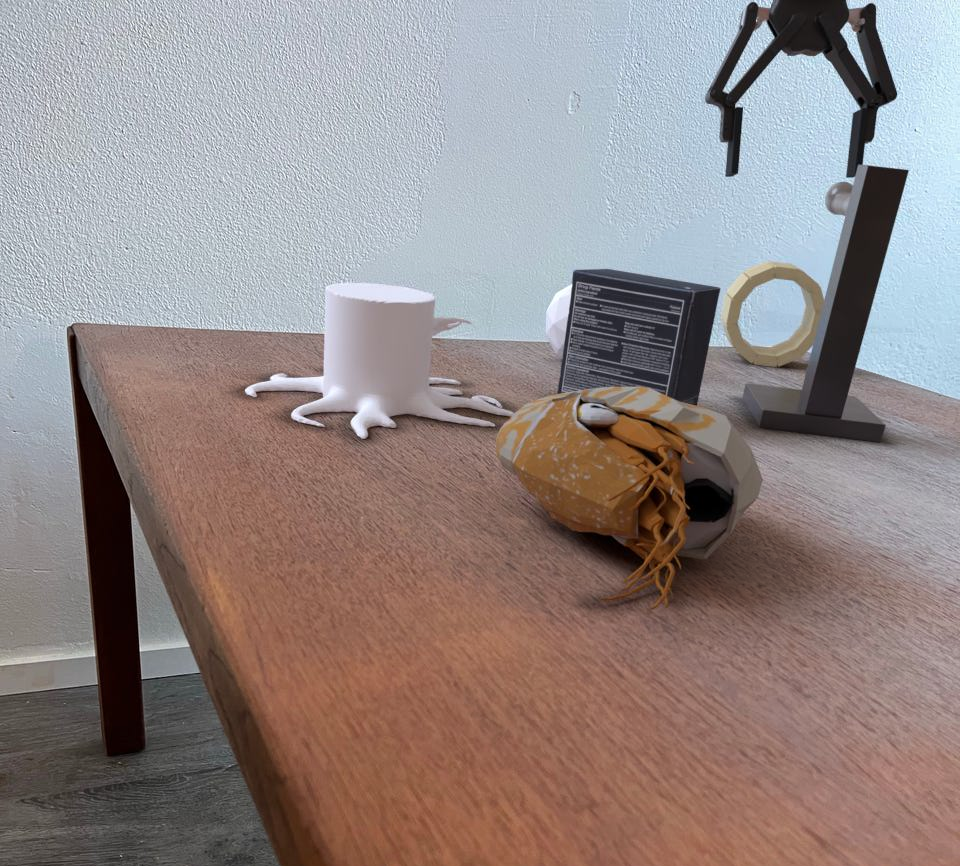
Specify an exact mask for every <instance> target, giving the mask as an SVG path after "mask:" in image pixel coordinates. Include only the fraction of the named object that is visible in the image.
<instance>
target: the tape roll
mask: <svg viewBox="0 0 960 866" xmlns="http://www.w3.org/2000/svg"><path fill="white" fill-rule="evenodd" d="M775 279H776V280H782V281H790V282H791V281H792V282H793V283H795V284H796V285H797V286H799V288H800V290H801V294H802V297H803V301H804V303H805V308H804V312H803V315H802V320H801V324H800V325H799V326H798V327H797V329H796V330H795V331H794V332H793V333H792V334H791V336H790V337H789V338H788V339H786V340H784V341H781V342H780V343H777V344H774V345H772V346H762V345H752V344H751V343H750V342H748V341H747V340H746V339H745V338H744V337H743V335H742V332H741V330H740V327H739V320H740V315H741V310H742V306H743V303H744V302H745V301H746V299H748V296H749V295H751V293H752V292H753V291H754V290H755V288H757V287H759V286H762V285H763V284H765V283H767V282H768V283H769V282H771V281H773V280H775ZM824 299H825V296H824V293H823V291H822V287H821V286H820V284H819V283H818V282H817V281H816V280H815V279H814V278H812V277H811V276H810V275H809V274H807V273H806V272H805V271H804V270H803V269H801V268H799V267H798V266H797V265H794V264H793V263H789V262H780V261H772V260H768V261H764V262H761V263H759V264H757V265H754V266H752V267H750V268H748V269H745V270H743V272H741V273H740V274H739V275H738V276H737V278H736V279H735V280H734V281H733V283H732V284H730V286H729V287H728V289H727V290H726V293H724V297H723V303H722V308H721V313H720V321H721V322H720V323H721V324H722V327H723V331H724V333H725V337H726V339H727V341H728V342H729V344H730V346H731V347H732V348H733V350H734V351H735V352H736V353H738V354H739V355H740V356H741V357H742V358H744V359H745V360H746V361H747V362H749V364H753V365H755V366H763V367H772V368H777V367H778V368H779V367H781V366H782V367H783V366H784V365H787V364H789V363H792V362H795V361H797V360H800V359H801V358H802V357H804V356H805V355H806V354H807V353H808V351H810V350H811V349H812V347H813V343H814V339H815V335H816V331H817V327H818V323H819V319H820V315H821V311H822V307H823V303H824Z"/></svg>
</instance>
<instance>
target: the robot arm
mask: <svg viewBox="0 0 960 866" xmlns="http://www.w3.org/2000/svg"><path fill="white" fill-rule="evenodd" d="M764 22H766V24H767V27H768V28H769V30H770V32H771V34H772V36H773V37H774V38H773V39H772V40H771V41H770V43H768V45H767V46H766V47H765V48H764V50H763V51H762V52H761V54H760V55H759V56H758V57H757V59H755V61H754V62H753V63H752V64H751V66H750V67H749V68H748V69H747V70H746V72H745V73H744V74H743V76H741V77H740V79H739V80H738V81H737V82H736V84H735V85H734V86H733V87H732V88H731V90H730V91H729V92H726V91H724V90H725V87H726V86H727V84H728V82H729V81H730V78H731V76H732V75H733V72H734V70H735V68H736V67H737V64H738V62H739V61H740V59H741V57H742V55H743V53H744V51H745V49H746V47H747V45H748V43H749V41H750V40H751V37H752V36H753V33H754V32H757V30H759V29H760V28H761V26H762V24H763V23H764ZM847 23H848V24H849V25H850V27H851V30H852V32H854V33H856V40H857V44H858V47H859V50H860V53H861V56H862V60H863V62H864V64H865V65H864V66H865V68H866V71H867V75H868V77H869V79H868V78H867V76H866V74H865V73H864V71H863V70H862V68H861V67H860V64H859V63H858V62H857V59H856V58H855V57H854V56H853V54H852V52H851V51H850V49H849V46H848V42H847V40H846V39H845V37H844V36H843V34H842V32H841V31H842V29H844V27H845V26H846V24H847ZM781 51H782V52H783V53H784V54H786V57H795V56H799V55H803V56H805V57H806V56H807V57H816V56H817V55H820V54H822V55H823V56H824V57H825V60H827V61H828V62H830V64H831V65H832V67H833V68H834V70H835V71H836V73H837V74H838V76H839V78H840V79H841V81H842V82H843V84H844V85H845V87H846V89H847V90H848V92H849V94H850V95H851V96H852V98H853V99H854V101H855V103H856V104H857V106H858V107H859V109H858V110H856V111H854V112H853V113H852V118H851V127H850V128H851V130H850V136H849V137H850V138H849V146H848V156H847V166H846V174H845V178H846V179H847V178H848V179H853V178H855V176H856V172H857V168H858V165H859V164H860V165H864V156H865V147H866V145H867V144H869V143H871V142H873V140H874V138H875V134H876V126H877V117H878V111H879V109H880V108H881V107H884V106H887V105H888V104H890V103H892V102H893V101H895V100H897V98H898V91H897V88H896V84H895V81H894V78H893V75H892V71H891V69H890V65H889V62H888V60H887V56H886V54H885V50H884V47H883V44H882V40H881V38H880V35H879V31H878V28H877V6H876V4H875V3H873V2H869V3H867V4H866V5H864V6H863V7H855V8H849V6H848V2H847V0H772V1H771V6H770V7H765V6H759V4H758V3H757V2H756V1H751V2H749V3H748V4H747V6H745V7H744V9H743V10H742V12H741V14H740V19H739V25H738V31H737V33H736V35H735V37H734V39H733V40H732V43H731V45H730V47H729V49H728V51H727V52H726V55H725V57H724V59H723V60H722V63H721V65H720V66H719V69H718V70H717V72H716V73H715V74H716V75H715V76H714V77H713V80H712V82H711V84H710V86H709V88H708V90H707V92H706V94H705V95H704V101H705V103H706V104H707V105H712V106H714V107H717V108H718V109H719V112H720V120H719V121H720V122H719V135H718V137H719V142H720V143H727V148H726V160H725V161H726V163H725V178H733V177H735V176H736V175H738V174H739V169H740V153H741V144H742V143H741V142H742V129H743V117H744V115H743V114H744V107H743V106H736V105H737V104H738V102H739V101H740V100H741V99H742V97H743V96H744V95H745V94H746V92H747V91H748V90H749V89H750V88H751V87H752V85H754V83H755V82H756V80H757V79H758V78H759V77H760V76H761V74H762V73H763V72H764V71H765V70H766V69H767V67H768V66H769V65H770V64H771V63H772V61H773V60H774V59H775V58H776V57H777V56H778V55H779V53H780V52H781Z"/></svg>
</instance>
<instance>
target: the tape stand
mask: <svg viewBox="0 0 960 866" xmlns="http://www.w3.org/2000/svg"><path fill="white" fill-rule="evenodd" d="M909 172H910V169H904V168H896V167H886V166H878V165H870V164H863V165H860V164H859V165H858V168H857V172H856V176H855V177H854V180H853V184H852V183H850V182H848V181H839V182H836V183H834V184H832V185H831V186H830V187H829V189H828V190H827V191H826V193H825V196H824V204H825V208H826V209H827V211H829V213H831V214H832V215H835V216H843V217H844V219H843V222H842V223H843V224H842V227H841V231H840V236H839V240H838V243H837V248H836V251H835V256H834V260H833V264H832V268H831V272H830V276H829V279H828V284H827V288H826V292H825V295H824V303H823V307H822V311H821V315H820V319H819V323H818V327H817V331H816V335H815V339H814V343H813V346H812V347H811V351H810V355H809V360H808V364H807V368H806V372H805V375H804V379H803V384H802V387H801V389H798V388H791V387H781V386H774V385H766V384H758V383H749V382H746V383H745V384H744V389H743V393H742V398H741V399H742V401H743V403H744V404H745V406H746V408H747V410H748V411H749V413H750V415H751V416H752V418H753V419H754V422H756V424H757V426H758V427H759V428H760V429H767V430H775V431H782V432H783V431H784V432H790V433H791V432H793V433H801V434H807V435H808V434H809V435H817V436H824V437H834V438H840V439H849V440H857V441H866V442H874V443H881V441H882V439H883V435H884V432H885V428H886V424H885V423H884V422H883V421H882V420H881V419H880V418H879V417H878V416H877V415H876V414H874V412H872V411H871V409H869V408H868V406H866V404H864V403H863V402H862V401H861V400H860V399H859V398H858V396H855V395H849V392H850V388H851V384H852V381H853V378H854V374H855V369H856V366H857V362H858V358H859V356H860V355H859V354H860V353H861V352H860V351H861V347H862V344H863V340H864V337H865V333H866V330H867V327H868V326H867V325H868V323H869V322H868V321H869V320H870V319H869V318H870V314H871V311H872V307H873V304H874V300H875V296H876V293H877V289H878V285H879V282H880V278H881V275H882V274H881V273H882V270H883V266H884V263H885V260H886V255H887V253H888V248H889V244H890V242H891V237H892V234H893V230H894V226H895V223H896V219H897V216H898V212H899V209H900V204H901V201H902V199H903V198H902V197H903V194H904V190H905V186H906V183H907V179H908V175H909Z"/></svg>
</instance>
